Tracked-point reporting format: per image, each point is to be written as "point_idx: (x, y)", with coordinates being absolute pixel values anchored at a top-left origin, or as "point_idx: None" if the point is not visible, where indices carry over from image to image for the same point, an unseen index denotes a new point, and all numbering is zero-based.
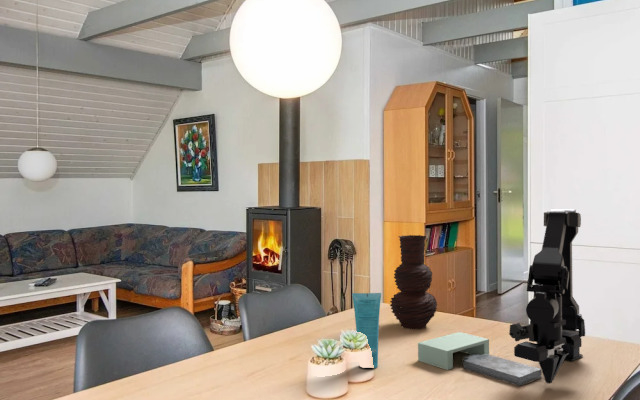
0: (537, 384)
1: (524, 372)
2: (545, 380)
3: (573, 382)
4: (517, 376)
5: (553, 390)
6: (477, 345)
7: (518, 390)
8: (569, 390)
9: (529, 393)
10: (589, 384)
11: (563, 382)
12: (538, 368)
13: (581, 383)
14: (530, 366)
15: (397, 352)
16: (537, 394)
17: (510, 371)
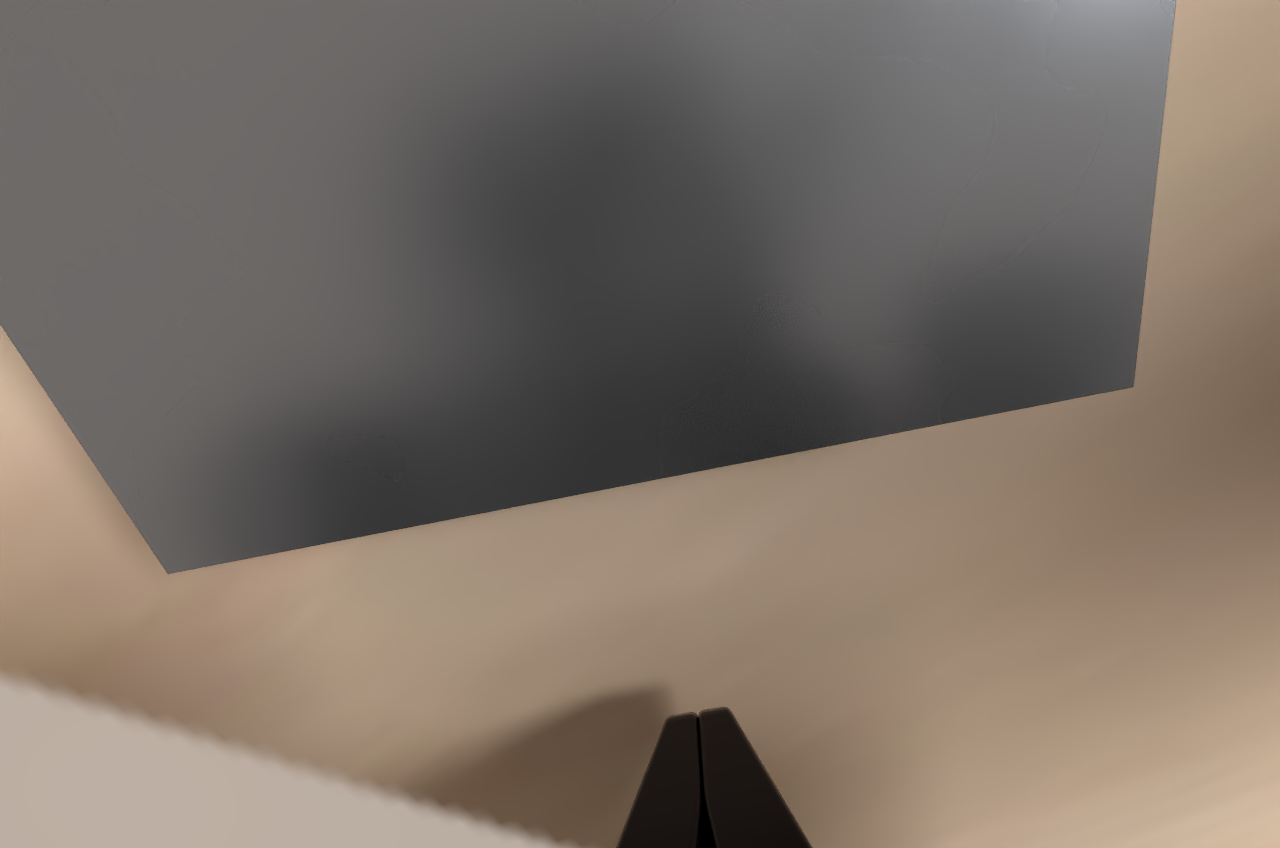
0: (621, 540)
1: (499, 389)
2: (657, 741)
3: (1180, 692)
4: (145, 517)
5: (641, 768)
6: None
7: (135, 596)
8: (826, 831)
9: (242, 723)
10: (1254, 804)
11: (1064, 640)
12: (1123, 312)
13: (1219, 752)
14: (1122, 38)
15: None
16: (331, 777)
17: (139, 123)
